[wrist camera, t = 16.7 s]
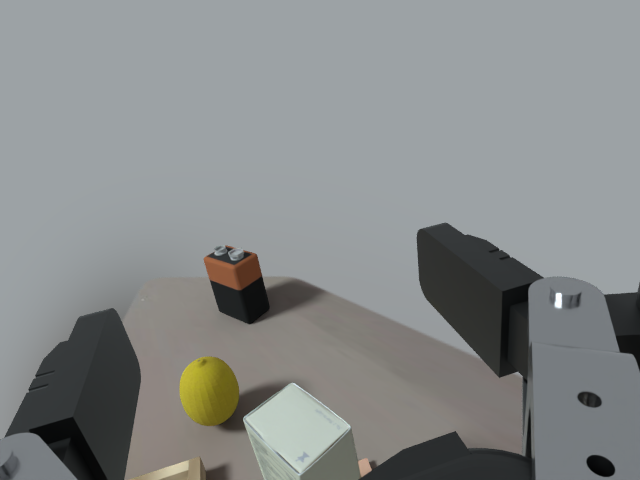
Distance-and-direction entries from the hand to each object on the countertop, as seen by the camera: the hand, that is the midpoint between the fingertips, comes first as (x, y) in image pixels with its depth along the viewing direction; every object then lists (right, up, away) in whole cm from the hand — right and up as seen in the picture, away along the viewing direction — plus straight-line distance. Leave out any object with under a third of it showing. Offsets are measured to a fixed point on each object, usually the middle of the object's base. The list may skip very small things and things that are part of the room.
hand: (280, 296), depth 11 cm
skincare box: (+1, -21, +21) cm, 29 cm away
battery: (-10, -9, +51) cm, 52 cm away
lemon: (-9, -17, +33) cm, 38 cm away
